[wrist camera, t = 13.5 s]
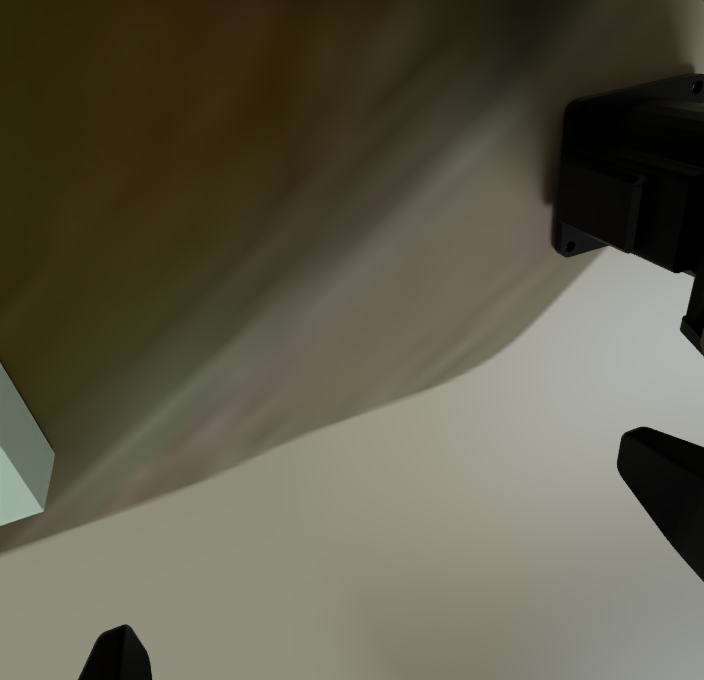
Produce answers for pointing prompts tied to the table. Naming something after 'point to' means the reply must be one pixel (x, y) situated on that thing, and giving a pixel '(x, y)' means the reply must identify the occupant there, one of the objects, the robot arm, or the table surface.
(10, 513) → the socket block
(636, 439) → the robot arm
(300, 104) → the table surface
